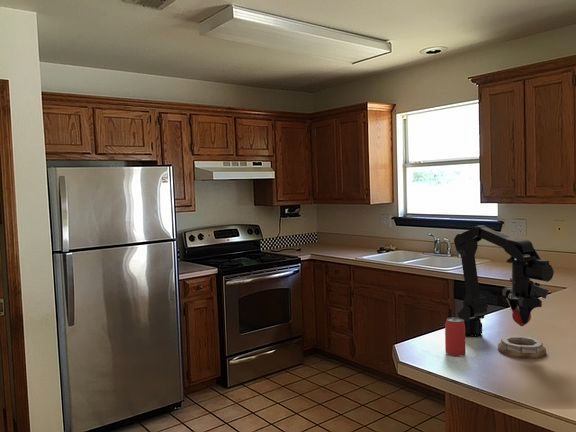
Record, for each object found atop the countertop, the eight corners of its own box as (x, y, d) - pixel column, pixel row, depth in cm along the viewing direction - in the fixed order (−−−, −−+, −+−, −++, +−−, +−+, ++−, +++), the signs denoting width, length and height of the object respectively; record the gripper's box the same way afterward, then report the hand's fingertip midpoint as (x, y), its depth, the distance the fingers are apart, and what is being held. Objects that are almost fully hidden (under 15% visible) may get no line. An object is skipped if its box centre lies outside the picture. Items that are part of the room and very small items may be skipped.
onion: (520, 329, 165) (520, 306, 165) (508, 324, 171) (508, 302, 170) (534, 327, 167) (534, 304, 166) (522, 323, 172) (522, 300, 172)
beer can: (461, 350, 172) (460, 316, 171) (468, 356, 165) (468, 321, 165) (442, 351, 172) (442, 317, 171) (449, 357, 165) (449, 322, 165)
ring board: (507, 358, 162) (507, 348, 162) (491, 344, 177) (491, 335, 177) (554, 358, 161) (554, 348, 161) (534, 344, 176) (534, 334, 176)
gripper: (558, 281, 158) (558, 329, 159) (533, 271, 176) (533, 314, 177) (522, 282, 159) (523, 329, 160) (501, 272, 177) (502, 314, 178)
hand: (521, 321), depth 169 cm, fingers closed on onion, 6 cm apart
